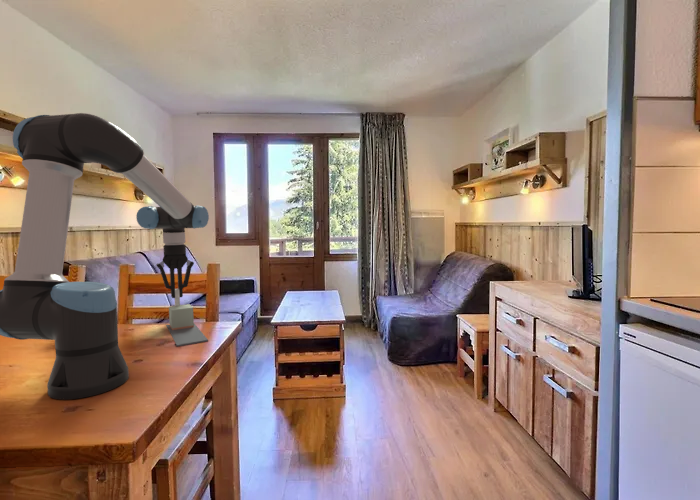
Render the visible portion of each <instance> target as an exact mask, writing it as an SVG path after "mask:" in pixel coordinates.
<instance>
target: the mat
mask: <svg viewBox="0 0 700 500" xmlns="http://www.w3.org/2000/svg"><path fill="white" fill-rule="evenodd" d="M165 326H166V328H167V329H168V332H169V334H170V336H171V337H172V339H173V341H174V343H175V345H176V347H177V348H178V347H182V346H183V347H184V346H188V345H189V346H190V345H194V344H200V343H201V344H202V343H205V342H209V338H207V337H206V335H205V334H204V333H203V332H202V331H201V329H200V328H199V327H198V326H197V325H196V324H195V323H194V327H190V328H183V329H177V330H172V329H171V327H170V325H166V324H165Z"/></svg>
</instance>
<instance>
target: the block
mask: <svg viewBox="0 0 700 500" xmlns="http://www.w3.org/2000/svg"><path fill="white" fill-rule="evenodd" d="M168 318H169V319H168V322H169V324H170V327H171V329H172V330H177V329H183V328H190V327H194V324H195V322H194V321H195V319H194V307H193V305H191V304H190V303H188V304H180V305H178V306H175V305H171V306H168Z"/></svg>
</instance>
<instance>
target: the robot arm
mask: <svg viewBox="0 0 700 500" xmlns="http://www.w3.org/2000/svg"><path fill="white" fill-rule="evenodd" d="M12 144H13V148H14V149H16V150H17V151H16V154H17V155H18V156H19V157H20V158H21V159H22V161H21V165H22V166H23V167H24V168H25V169H26V170H27V172H28V173H29V174H28V179H27V180H28V181H27V185H26V186H27V187H26V192H25V193H26V194H25V200H24V206H23V207H24V208H23V213H22V220H21V227H20V233H19V241H18V247H17V254H16V255H17V256H16V261H15V268H14V272H12V274H10V275H8V276H6V277H5V278H4V280H3V286H2V289H1V290H0V336H2V337H4V338H10V339H16V340H21V341H22V340H44V341H45V340H46V341H47V340H48V341H49V340H50V341H51V340H52V341H54V347H55V360H54V363H53V366H52V369H51V372H50V375H49V378H48V381H47V386H46V387H47V396H48V397H49V398H50V399H51V398H52V399H54V400H76V399H82V398H83V399H84V398H88V397H93V396H95V395H100V394H103V393H107V392H109V391H111V390H114V389H116V388H118V387H120V386H122V385H124V384H125V383H126V382H127V381H128V380H129V378H130V374H129V373H130V371H129V366H128V365H127V361H126V360H125V358H124V356H123V353H122V351H121V349H120V346H119V332H118V331H119V330H118V329H119V328H118V308H117V307H118V301H117V298H116V291H115V289H114V288H113V287H112V286H111V285H109V284H107V283H103V282H96V281H69V279H67V278H66V277H65V276H64V274H63V269H64V261H65V255H66V253H65V252H66V248H67V241H68V231H69V223H70V215H71V214H70V213H71V208H72V200H73V191H74V185H75V181H76V180H77V179H79V178H81V177H82V176H83V173H84V165H85V164H92V163H93V164H94V163H95V164H100V165H101V166H102V165H103V166H106V167H107V168H109V169H110V170H111V171H112V172H114V173H116V174H121V175H123V176H124V177H125V178H126V179H127V180H129V181H130V182H131V183H132V184H133V186H136V187H137V189H139V190H141V192H143V194H145V195H146V196H147V197H148V198H149V199H151V201H153V202H154V203H155V204H156V205H157V206H152V205H150V206H143V207H141V208H139V210H137V212H136V215H135V216H136V218H135V219H136V221H137V224H138V225H139V226H140V227H141V228H143V229H148V230H154V229H155V230H156V229H157V230H159V229H162V240H163V241H162V243H163V244H164V245H163V258H162V260H161V261H160V262H158V263H156V265H155V266H156V267H157V268H158V270H159V272H160V275H161V278H162V281H163V284H164V287H165V288H166V289H168V290H170V295H171V296H170V297H171V298H172V299H174V306H178V305H181V298H183V289H184V288H186V287H188V286H189V280H190V275H191V271H192V268H193V267H194V264H195V262H194V261H192V260H189V259H188V256H187V248H186V229H195V230H196V229H199V228H200V229H201V228H205V227H206V226H208V223H209V219H210V218H209V211H208V210H207V208H206V207H205V206H203V205H198V204H197V205H194V204H193V203H192V202H191V201H190V200H189V199H188V198H187V197H186V196H185V195H184V194H183V193H182V191H180V190H179V189H178V188H177V187H176V186H175V185H174V184H173V183H172V182H171V181H170V180H169V179H168V178H167V177H166V176H165V174H163V173H162V171H160V170H159V169H158V168H157V167H156V166H155V165H154V164H153V162H152V161H151V160H149V159H148V157H147V156H146V155H145V151H144V149H143V147H142V145H140V144H139V143H138V142H137V141H136V140H135V139H134V138H133V137H132V136H131V135H129V134H128V133H127V132H126V131H124V130H123V129H121V128H120V127H119V126H117V125H115V124H114V123H112V122H110V121H109V120H107V119H105V118H103V117H101V116H98V115H95V114H90V113H83V112H79V113H66V114H53V115H50V114H40V115H35V116H31V117H26V118H25V119H22V120H21V121H20V122H19V123H17V124H16V126H15V128H14V130H13V133H12ZM185 264H186V269H185V274H184V279H183V267H184V266H185ZM165 265H166V267H167V268H168V269H169V279H170V280H169V281H170V282H169V281H168V278H167V274H166V271H165V268H164V267H165ZM175 270H177V271H176V272H177V273H176V274H177V288H176V283H175V282H176V278H175V276H176V275H175ZM169 283H170V284H169Z"/></svg>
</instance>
